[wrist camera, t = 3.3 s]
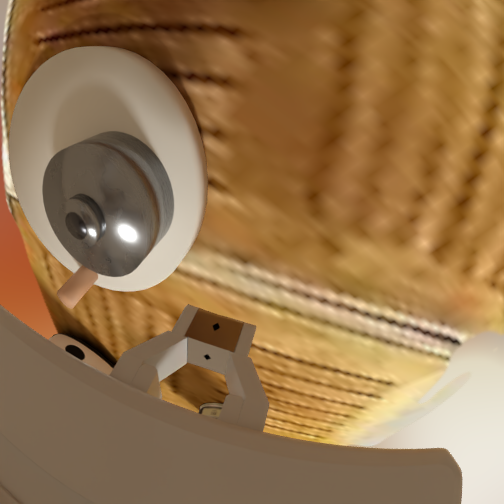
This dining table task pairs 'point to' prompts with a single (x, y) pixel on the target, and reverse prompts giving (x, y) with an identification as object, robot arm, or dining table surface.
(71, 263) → the crank wheel
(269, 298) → the dining table surface
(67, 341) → the milk container
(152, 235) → the iron cover
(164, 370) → the robot arm
